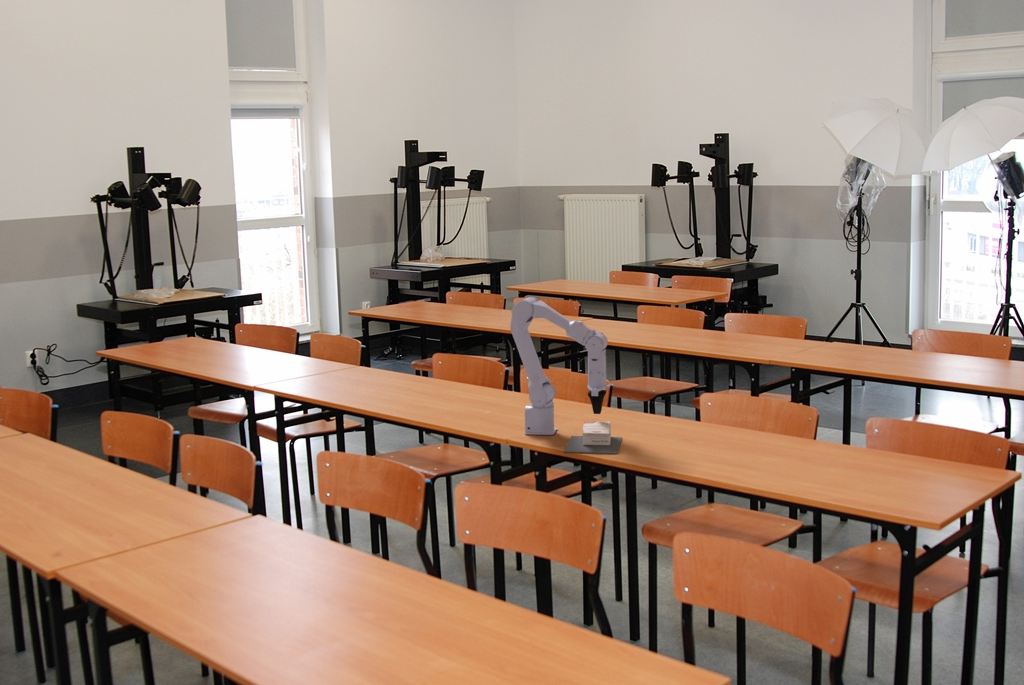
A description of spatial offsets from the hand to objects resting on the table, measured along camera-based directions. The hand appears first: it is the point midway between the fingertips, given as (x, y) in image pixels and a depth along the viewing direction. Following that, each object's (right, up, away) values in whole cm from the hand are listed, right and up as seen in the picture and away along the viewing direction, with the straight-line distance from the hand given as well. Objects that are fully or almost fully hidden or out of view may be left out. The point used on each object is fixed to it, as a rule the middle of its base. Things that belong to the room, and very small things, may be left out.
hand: (597, 413), depth 313 cm
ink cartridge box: (0, -5, 0) cm, 5 cm away
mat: (-2, -9, -9) cm, 13 cm away
